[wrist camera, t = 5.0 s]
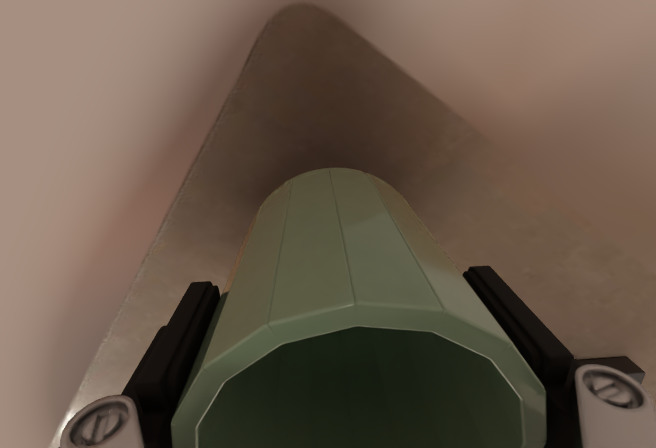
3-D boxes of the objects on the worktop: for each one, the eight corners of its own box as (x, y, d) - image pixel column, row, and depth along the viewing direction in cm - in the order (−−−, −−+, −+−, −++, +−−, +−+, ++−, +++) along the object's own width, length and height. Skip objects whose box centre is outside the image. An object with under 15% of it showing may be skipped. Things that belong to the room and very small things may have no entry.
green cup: (299, 132, 13) (280, 228, 5) (453, 219, 15) (628, 399, 7) (220, 280, 16) (119, 513, 7) (361, 342, 17) (407, 586, 9)
